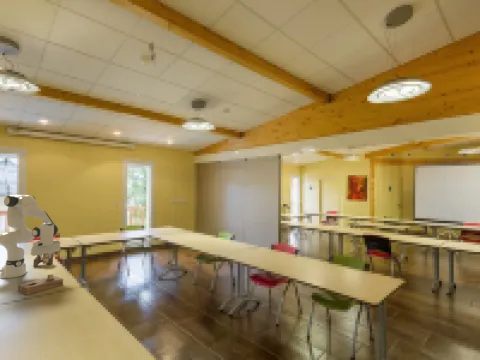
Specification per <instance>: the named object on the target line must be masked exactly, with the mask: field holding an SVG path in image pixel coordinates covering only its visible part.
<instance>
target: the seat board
mask: <svg viewBox="0 0 480 360" xmlns="http://www.w3.org/2000/svg"><path fill="white" fill-rule="evenodd" d="M47 279H48V276H47V277H44V278H41V279H37V280H33V281H32V280H31V281H29V282H25V283H21V284H18V287H17V288H18V289H17V291H18V292H19V293H22V294H25V295H27V296H29V295H33V294H35V293H38V292H42V291H45V290H49V289H51V288H54V287H55V286H56V287H58V286H61V285H64V278H62V277H59V276H56V275H53V280H50V281H47Z"/></svg>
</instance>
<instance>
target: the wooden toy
mask: <svg viewBox="0 0 480 360" xmlns="http://www.w3.org/2000/svg"><path fill="white" fill-rule="evenodd" d="M54 253H55V252H53V254H52V255H51V258H48V263H47V264H46V265H49V266H52V265H54ZM49 255H50V254H49ZM41 263H43V260H41V257H40V256H39V255H36V256H35V258H34V259H33V268H36V267H38V266H39V264H41Z"/></svg>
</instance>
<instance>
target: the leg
mask: <svg viewBox="0 0 480 360" xmlns="http://www.w3.org/2000/svg"><path fill="white" fill-rule="evenodd" d="M42 257H44V259H43V262H42V264H43V265H45V264H47V263H48V258H49V253H47V254H42Z"/></svg>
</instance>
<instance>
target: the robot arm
mask: <svg viewBox="0 0 480 360" xmlns="http://www.w3.org/2000/svg"><path fill="white" fill-rule="evenodd" d="M3 203H4V205H5V206H6V207H7V212H6V215H7V216H6V220H7V226H8V227H10V228H11V229H14V231H9V232H4V233H1V234H0V246H3V247H4V248H5V250H6V253H7V257H6V260H5V265H4V266H2V268H1V269H0V279H9V278H10V279H11V278H18V277H21V276H25V274H27V273H28V271H27V267H26V266H27V265H26V263H25V249H24V248H22V247H20V246H18V244H22V243H29V242H31V241H33V240H34V239H36V238H37V239H38V238H39V239H40V240H38V241H35V242H33V243H32V246H31V249H30V255H31V256H32V257H33V256H35V257H36V256H37V255H39V256H40V257H41V260H43V259H44V257H43V254H47V253H49V254H50V255H49V258H51V255H52V254H53V255H54V253H56V252H57V253H58V252H60V251H61V241H60V240H54V236H55V235H57V233H58V232H59V228H58V226H57V225H56V224H55V223H54V221H53V220H52V218H51V217H50V215H49V214H48V213H47V212H46V211H45V210H44V209H42V208H41V207H40V206H39V203H38V202H37V201H36V197H35V196H34V195H32V194H10V195H6V196H5V198H4V200H3ZM24 215H25V216H27V217H30V218H35V219H36V218H37V219H40V220H42V223H41V225H37V226H35V227H33V229H30V228H28V227H27V225H26V223H25V217H24ZM53 252H54V253H53Z"/></svg>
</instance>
